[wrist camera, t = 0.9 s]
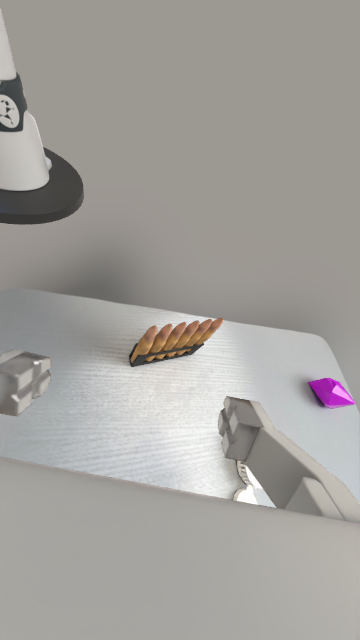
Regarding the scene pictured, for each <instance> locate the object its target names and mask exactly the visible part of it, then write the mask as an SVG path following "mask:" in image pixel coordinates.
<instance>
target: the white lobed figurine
mask: <svg viewBox="0 0 360 640" xmlns="http://www.w3.org/2000/svg"><path fill="white" fill-rule="evenodd" d="M237 468H238V472H239V475H240V477H241V478H242V480H243V481H244V482H245V483H247V485H246V489H239V490H237V492H236V493H235V495H234V498H233V500H235V501H240V502H246V503H251V504H256V505H257V501H256V499H255V497H254V495H253V486H254V488H256V487H257V488H262V487H261V485H260V484H259V482H258V481H257V480H256V478H255V477H254V476H253V474H252V473H251V471H250V470H249V469H248V467H247V466H246V464H245V462H242V461H238V460H237ZM245 479H246V480H245Z"/></svg>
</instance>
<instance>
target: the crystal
mask: <svg viewBox="0 0 360 640" xmlns="http://www.w3.org/2000/svg"><path fill="white" fill-rule="evenodd" d="M308 383H309V385H310V386H311V388H312V389H313V390H314V392H315V393H316V395H317V396H318V397H319V399H320V400H321V402H322V403H323V404H324V406H326V407H328V408H331V409H333V408H339V407H344V406H349V405H354V404H356V403H355V401H354V400H353V399H352V398H351V396H350V395H349V394H348V393H347V391H346V390H345V389H344V388H343V386H342V385H341V384H340V383H339V382H338V381H335V380H333V379H331V378H324V379H320V380H316V381H312V382H308Z"/></svg>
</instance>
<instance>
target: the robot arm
mask: <svg viewBox="0 0 360 640" xmlns="http://www.w3.org/2000/svg"><path fill="white" fill-rule="evenodd" d="M51 167H52V164H51V160H50V159H49V158H47V157H46V156H45V153H44V150H43V146H42V142H41V139H40V136H39V132H38V128H37V125H36V122H35V119H34V117H33V116H32V115H31V114H30V113H29V112H27V104H26V99H25V92H24V89H23V86H22V83H21V80H20V76H19V75H18V73H17V72H16V71H15V66H14V62H13V58H12V54H11V50H10V45H9V41H8V37H7V33H6V29H5V24H4V20H3V16H2V12H1V8H0V189H4V190H12V191H28V190H34V189H38V188H41V187H43V186H44V185H46V184H47V183H48V181H49V170H50V169H51ZM51 367H52V360H51V358H50V357H46V356H42V355H38V354H33V353H29V352H25V351H20V350H10V351H7V352H5V353H3V354H1V355H0V414H6V415H12V416H18V415H20V414H21V413H22V412H23V411H24V410H25V409H26V408H27V407H29V406H30V405H31V403H32V399H35V398H37V397H40V396H41V395H42V394H43V393H44V392H45V391H46V389H47V388H48V386H49V384H50V381H51V374H50V373H49V371H48V369H49V368H51ZM223 404H224V407H225V408H224V409H223V410H221V411H220V414H219V418H218V430H219V434H220V435H221V436H222V437H223V439H222V442H221V443H222V447H223V452H224V456H225V458H229V459H234V460H238V461H242V462H245V464H246V466H247V467H248V469H249V470H250V471H251V473H252V474H253V476H254V477H255V478H256V480H257V481H258V482H259V484H260V485H261V487H262V488H263V489H264V491H265V492H266V494H267V495H268V496H269V498H270V499H271V500H272V502H273V503H274V505H275V506H276V507H277V508H273V507H267V506H262V505H256V504H251V503H246V502H240V501H235V500H229V499H224V498H219V497H213V496H208V495H203V494H197V493H192V492H186V491H181V490H176V489H170V488H165V487H160V486H154V485H149V484H144V483H138V482H133V481H127V480H122V479H117V478H111V477H106V476H100V475H95V474H90V473H84V472H79V471H73V470H68V469H63V468H57V467H52V466H46V465H41V464H36V463H30V462H25V461H20V460H14V459H9V458H3V457H0V640H360V504H359V502H358V501H357V500H356V498H355V497H354V496H353V495H352V493H351V492H350V491H349V489H348V488H347V487H346V485H345V484H344V483H343V482H341V481H340V480H339V479H338V478H337V477H335V476H334V475H333V474H332V473H330V472H329V471H328V470H327V469H326V468H324V467H323V466H322V465H321V464H319V463H318V462H317V461H316V460H315V459H313V458H312V457H311V456H310V455H308V454H307V453H306V452H305V451H304V450H302V449H301V448H300V447H299V446H297V445H296V444H295V443H294V442H293V441H291V440H290V439H289V438H288V437H286V436H285V435H284V434H283V433H282V432H280V431H277V430H276V429H275V427H274V426H273V424H272V422H271V421H270V419H269V417H268V416H267V414H266V412H265V411H264V409H263V407H262V406H261V404H260V403H259V402H256V401H250V400H244V399H239V398H234V397H229V396H227V397H226V398H225V400H224V403H223Z"/></svg>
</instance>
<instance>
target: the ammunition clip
mask: <svg viewBox="0 0 360 640" xmlns="http://www.w3.org/2000/svg"><path fill="white" fill-rule="evenodd" d="M223 320H224V319H223V318H219V319H217V320H215V321H213V322H212V320H211V319H208V320H206V321H204V322H202V323H201V324H200V325H199V321H194V322H192V323H191V324H189V325H188V326H187V327H186V322H183V323H180V324H179V325H177V326H176V327H175V328H174V329H173V330H172V324H168V325H166V326H164V327H163V328H162V329H161V331H160V332H159V333H158V334H157V327H156V326H152V327H150V328H149V329H148V330H147V332H146V333H145V335H144V336H143V337H142V338H141V339H140V341H139V343H137V344H136V345H135V346H134V348H133V350H132V352H131V353H130V355H129V357H130V363H131V367H135V366H139V365H144V364H149V363H154V362H158V361H163V360H168V359H173V358H178V357H182V356H187V355H192V354H193V353H194V352H195V351H197V350H198V349H199V348H200V347H201V346H203V345H204V343H203V342H205V341H206V340H207V339H208V338H210V337H211V335H212V334H213V333H214V332H215V331H216V330H217V329H218V328H219V327H220V326H221V324H222V322H223ZM156 334H157V335H156Z"/></svg>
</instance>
